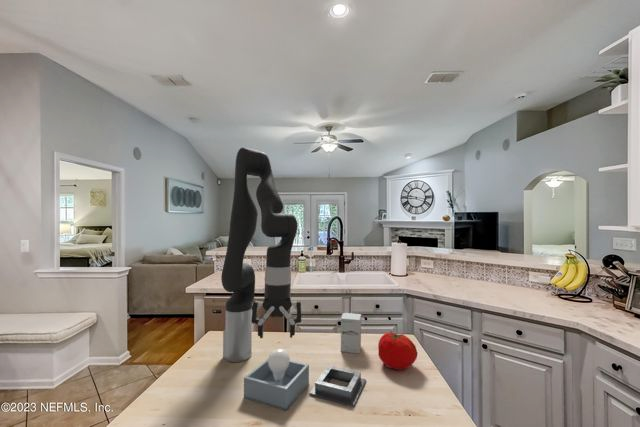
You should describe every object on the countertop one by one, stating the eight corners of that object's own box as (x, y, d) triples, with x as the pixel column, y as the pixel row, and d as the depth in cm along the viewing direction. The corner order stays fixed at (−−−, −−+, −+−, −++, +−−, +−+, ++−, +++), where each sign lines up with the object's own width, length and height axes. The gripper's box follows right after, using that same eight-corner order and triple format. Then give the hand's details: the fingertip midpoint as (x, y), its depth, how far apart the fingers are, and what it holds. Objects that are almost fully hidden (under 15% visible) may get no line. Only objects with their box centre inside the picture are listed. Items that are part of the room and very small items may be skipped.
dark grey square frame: (309, 395, 79) (309, 384, 79) (326, 372, 91) (326, 362, 91) (353, 407, 74) (353, 395, 74) (365, 381, 86) (365, 371, 86)
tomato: (370, 360, 99) (370, 330, 99) (398, 353, 104) (398, 325, 104) (394, 379, 87) (394, 345, 87) (425, 371, 92) (424, 338, 92)
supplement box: (340, 352, 105) (340, 318, 106) (342, 343, 112) (342, 312, 113) (360, 354, 104) (359, 319, 104) (361, 345, 111) (361, 313, 111)
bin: (243, 397, 78) (243, 377, 78) (270, 373, 90) (270, 356, 91) (286, 410, 73) (286, 389, 73) (308, 382, 85) (308, 364, 85)
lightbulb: (269, 396, 77) (269, 356, 78) (266, 383, 84) (266, 346, 84) (291, 392, 79) (291, 352, 80) (287, 379, 86) (287, 343, 86)
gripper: (301, 278, 86) (300, 331, 86) (254, 278, 85) (253, 332, 85) (302, 284, 79) (301, 342, 79) (251, 284, 78) (249, 343, 77)
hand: (276, 337), depth 82 cm, fingers open, 8 cm apart
